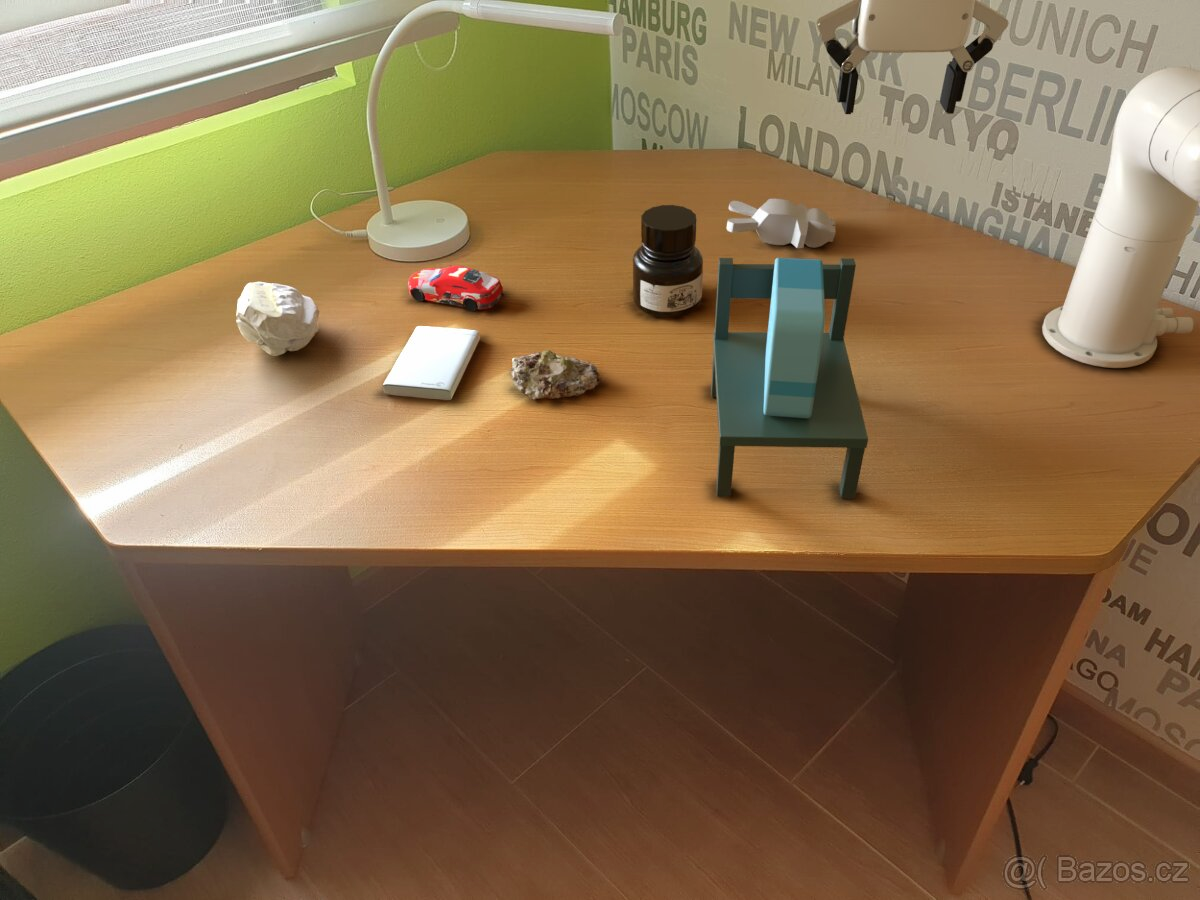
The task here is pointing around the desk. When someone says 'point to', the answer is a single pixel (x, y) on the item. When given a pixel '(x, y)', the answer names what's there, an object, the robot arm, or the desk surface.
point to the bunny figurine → (784, 223)
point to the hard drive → (432, 363)
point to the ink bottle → (667, 263)
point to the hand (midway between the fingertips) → (896, 108)
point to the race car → (456, 287)
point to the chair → (744, 378)
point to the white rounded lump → (276, 317)
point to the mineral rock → (553, 375)
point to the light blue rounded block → (794, 337)
